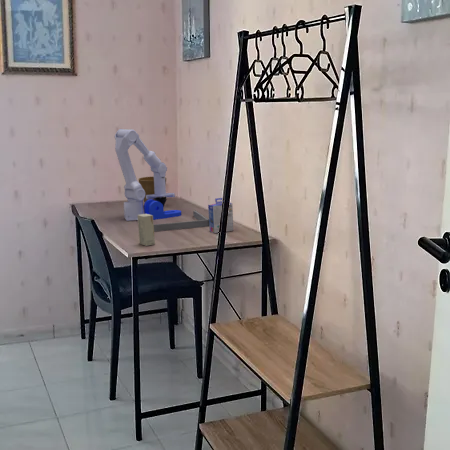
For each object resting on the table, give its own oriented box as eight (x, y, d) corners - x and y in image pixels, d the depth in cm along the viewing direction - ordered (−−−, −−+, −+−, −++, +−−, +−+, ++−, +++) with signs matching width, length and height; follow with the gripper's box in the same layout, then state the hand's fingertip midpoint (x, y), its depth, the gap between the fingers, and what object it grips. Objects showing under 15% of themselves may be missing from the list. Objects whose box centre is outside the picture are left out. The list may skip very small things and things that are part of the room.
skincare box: (155, 244, 256) (153, 215, 253) (145, 246, 254) (144, 216, 251) (148, 241, 261) (146, 213, 259) (138, 243, 259) (137, 214, 256)
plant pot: (136, 210, 333) (134, 180, 330) (145, 205, 347) (143, 176, 344) (162, 210, 330) (161, 180, 327) (171, 205, 344) (169, 176, 341)
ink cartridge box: (228, 228, 282) (227, 196, 279) (234, 230, 277) (233, 198, 274) (208, 231, 277) (207, 199, 274) (214, 233, 272) (213, 200, 269)
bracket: (151, 220, 306) (150, 202, 304) (144, 217, 313) (143, 200, 311) (184, 215, 314) (183, 198, 312) (177, 213, 321) (176, 196, 320)
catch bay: (148, 232, 279) (148, 225, 279) (138, 221, 303) (138, 215, 302) (210, 226, 287) (209, 219, 287) (195, 216, 311) (195, 210, 310)
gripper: (147, 187, 312) (148, 214, 315) (175, 185, 316) (177, 212, 319) (144, 185, 318) (146, 212, 321) (172, 183, 323) (173, 209, 326)
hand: (161, 212), depth 321 cm, fingers closed
